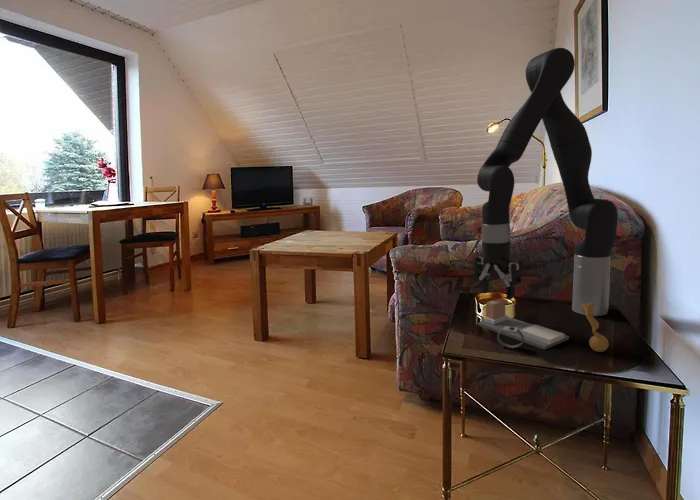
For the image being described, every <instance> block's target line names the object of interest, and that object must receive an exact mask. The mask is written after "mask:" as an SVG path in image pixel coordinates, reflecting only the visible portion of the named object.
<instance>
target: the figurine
mask: <svg viewBox="0 0 700 500" xmlns="http://www.w3.org/2000/svg"><path fill="white" fill-rule="evenodd" d="M594 306H595V305H594V302H591V303H588V304H583V305H582V306H581V309H582V311H583V313H584V314H585V315H584V316H585V318H587V320H588V322H589V323H590V325H591V326H590V327H591V328H592V330H591V333H592V334H593V336H590V339H589V341H588V343H589V344H588V345H589V347H590V348H591V349H592V350H593V351H594V352H597V353H603V352H605V351H606V350H607V349H608V348H609V340H608V339H607V337H606V336H604V335H602V334H601V333H599V332H598V331H597V330H598V329H599V328H600V325H599V324H600V323H599V321H597V320H596V317H597V316H595V314H594V313H593V307H594Z"/></svg>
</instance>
